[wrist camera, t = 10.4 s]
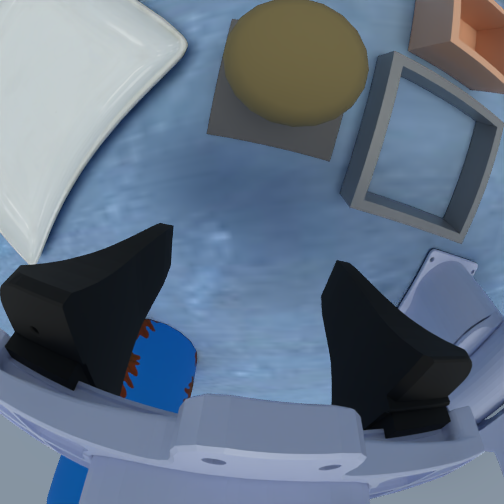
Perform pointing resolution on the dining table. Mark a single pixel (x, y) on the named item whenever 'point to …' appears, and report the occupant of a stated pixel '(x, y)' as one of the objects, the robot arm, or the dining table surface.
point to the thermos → (140, 392)
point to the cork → (295, 62)
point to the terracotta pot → (462, 40)
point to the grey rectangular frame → (374, 134)
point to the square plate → (67, 98)
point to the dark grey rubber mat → (266, 124)
